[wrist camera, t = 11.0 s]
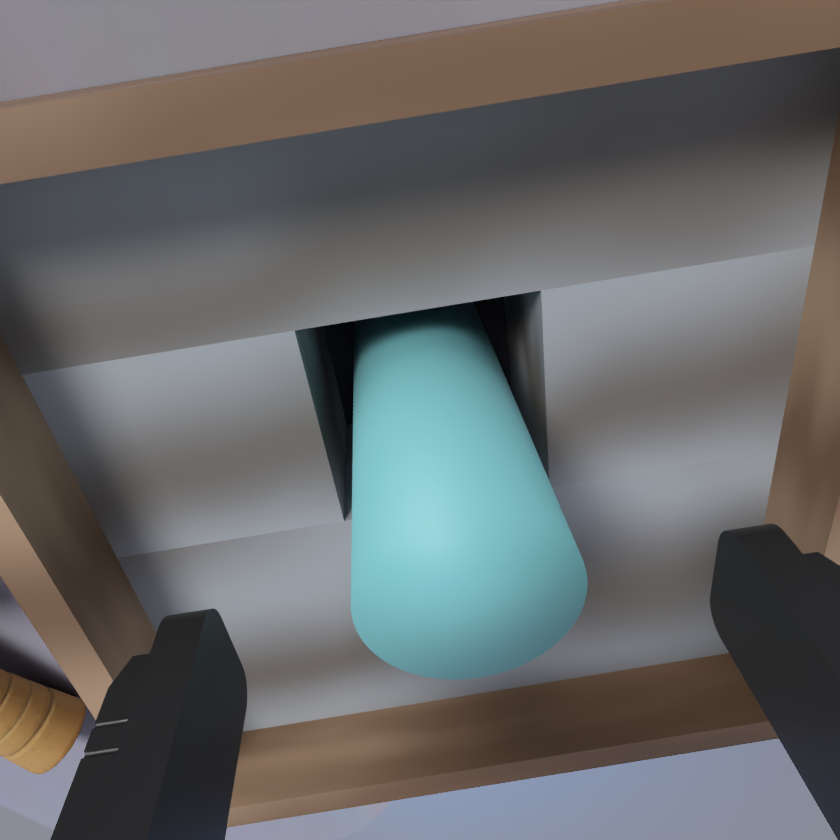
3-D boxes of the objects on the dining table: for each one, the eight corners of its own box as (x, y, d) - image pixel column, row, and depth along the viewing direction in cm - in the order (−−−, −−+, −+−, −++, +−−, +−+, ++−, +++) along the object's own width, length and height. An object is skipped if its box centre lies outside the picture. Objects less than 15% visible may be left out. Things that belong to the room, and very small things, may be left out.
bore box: (-25, 106, 16) (-279, 154, 10) (770, -24, 16) (1045, -61, 10) (217, 641, 26) (172, 836, 20) (699, 563, 26) (809, 733, 20)
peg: (341, 286, 19) (327, 532, 10) (474, 264, 19) (587, 489, 10) (366, 401, 21) (374, 695, 12) (486, 381, 21) (588, 660, 12)
